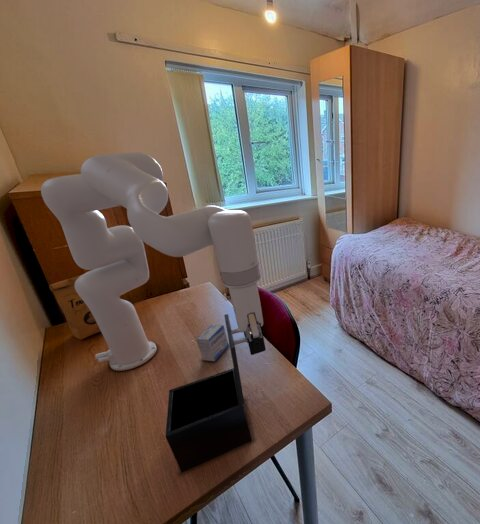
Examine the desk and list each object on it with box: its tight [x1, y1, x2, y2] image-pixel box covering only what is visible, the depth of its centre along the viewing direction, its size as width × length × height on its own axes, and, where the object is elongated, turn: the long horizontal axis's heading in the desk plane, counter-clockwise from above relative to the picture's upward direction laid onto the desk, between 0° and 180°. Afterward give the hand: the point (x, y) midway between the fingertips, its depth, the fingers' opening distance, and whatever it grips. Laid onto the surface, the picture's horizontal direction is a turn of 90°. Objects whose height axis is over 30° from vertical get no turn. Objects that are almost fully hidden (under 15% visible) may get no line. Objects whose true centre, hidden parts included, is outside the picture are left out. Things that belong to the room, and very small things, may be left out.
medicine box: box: [195, 323, 229, 362], centre depth 92 cm, size 8×4×9 cm, turn 168°
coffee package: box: [48, 275, 101, 340], centre depth 102 cm, size 10×12×22 cm
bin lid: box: [223, 313, 252, 405], centre depth 64 cm, size 15×13×5 cm
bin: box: [164, 367, 253, 474], centre depth 66 cm, size 15×13×12 cm
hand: (255, 343), depth 65 cm, fingers closed on bin lid, 5 cm apart
